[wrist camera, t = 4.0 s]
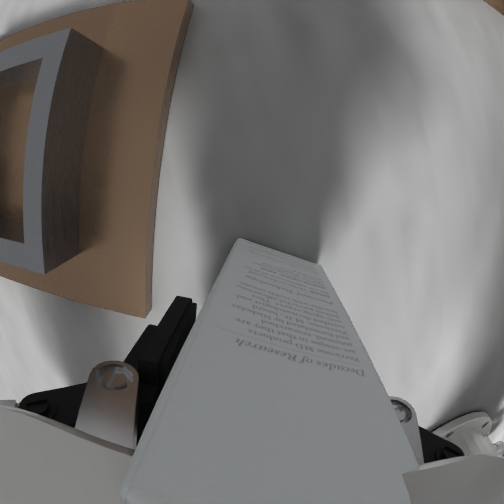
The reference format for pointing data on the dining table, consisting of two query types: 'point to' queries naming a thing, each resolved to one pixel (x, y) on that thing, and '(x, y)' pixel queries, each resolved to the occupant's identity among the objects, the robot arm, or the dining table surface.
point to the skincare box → (271, 400)
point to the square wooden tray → (497, 5)
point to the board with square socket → (87, 149)
